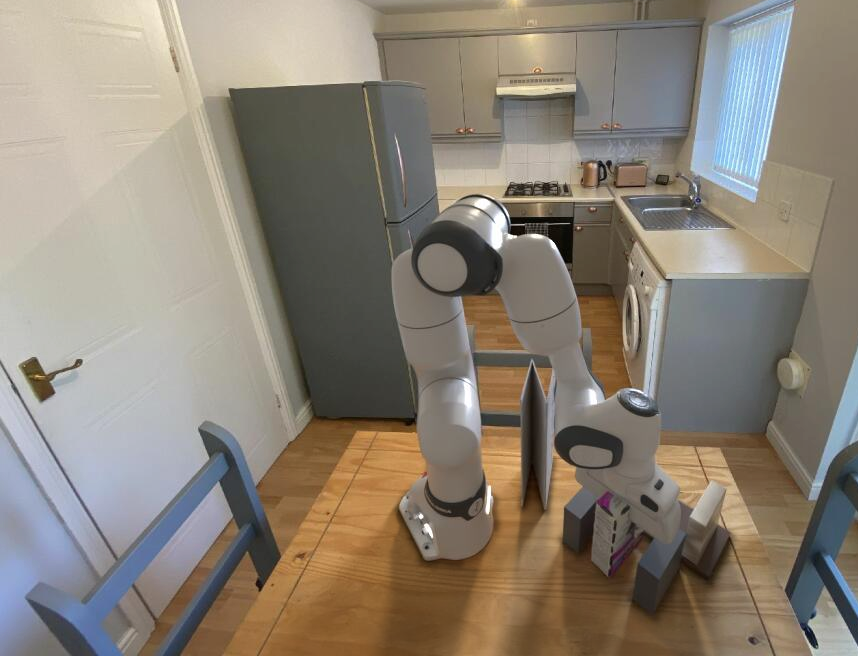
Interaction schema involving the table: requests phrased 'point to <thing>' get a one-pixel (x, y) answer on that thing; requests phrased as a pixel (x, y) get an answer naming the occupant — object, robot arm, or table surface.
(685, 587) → the table surface
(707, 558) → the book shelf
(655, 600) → the dark gray block pair
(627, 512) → the candy bar box
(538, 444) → the brochure
